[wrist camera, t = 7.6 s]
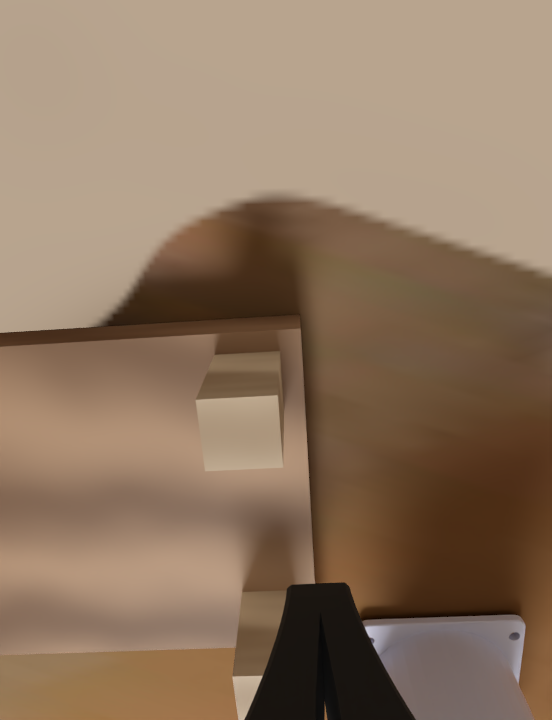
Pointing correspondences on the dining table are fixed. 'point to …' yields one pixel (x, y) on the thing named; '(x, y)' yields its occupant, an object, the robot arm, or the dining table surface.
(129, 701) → the dining table surface
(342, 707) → the robot arm
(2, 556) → the stool seat
